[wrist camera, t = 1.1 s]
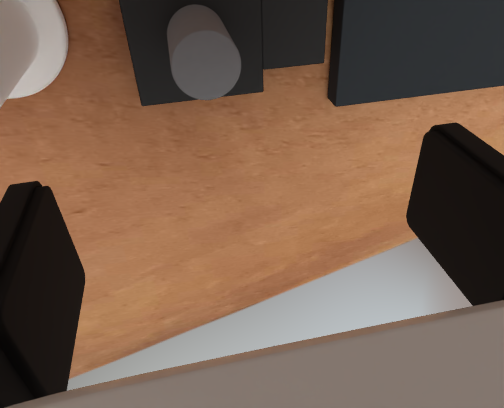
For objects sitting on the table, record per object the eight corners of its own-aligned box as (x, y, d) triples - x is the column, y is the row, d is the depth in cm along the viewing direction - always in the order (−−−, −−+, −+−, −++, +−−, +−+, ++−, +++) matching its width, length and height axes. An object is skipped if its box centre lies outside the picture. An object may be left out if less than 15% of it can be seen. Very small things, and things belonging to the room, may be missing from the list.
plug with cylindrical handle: (142, 96, 24) (140, 150, 19) (113, -41, 20) (100, -19, 15) (315, 76, 26) (355, 121, 21) (321, -56, 22) (375, -41, 16)
